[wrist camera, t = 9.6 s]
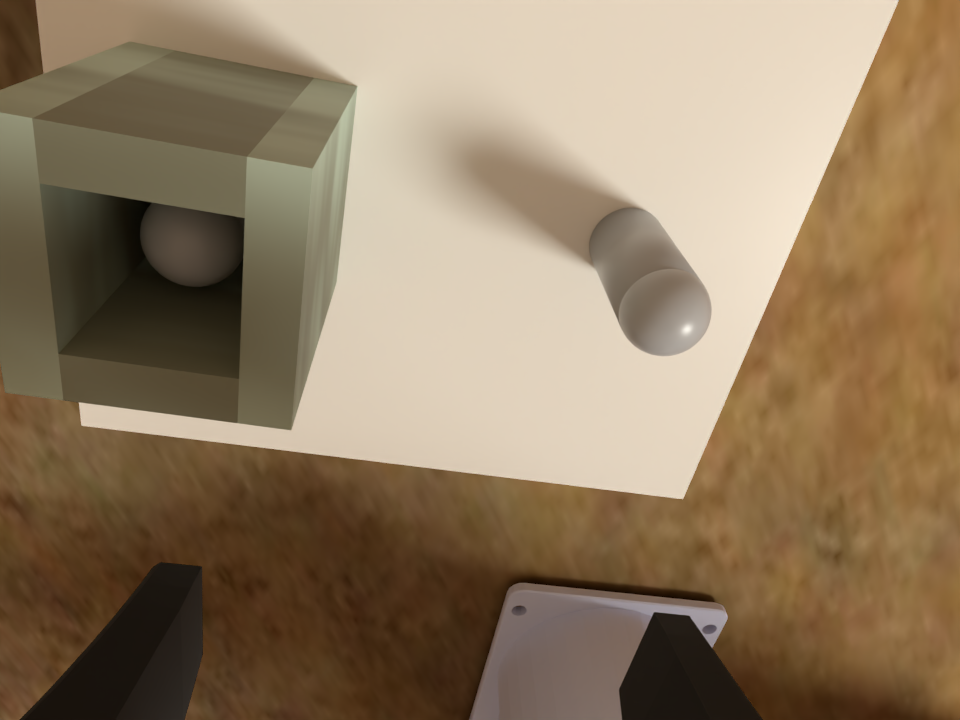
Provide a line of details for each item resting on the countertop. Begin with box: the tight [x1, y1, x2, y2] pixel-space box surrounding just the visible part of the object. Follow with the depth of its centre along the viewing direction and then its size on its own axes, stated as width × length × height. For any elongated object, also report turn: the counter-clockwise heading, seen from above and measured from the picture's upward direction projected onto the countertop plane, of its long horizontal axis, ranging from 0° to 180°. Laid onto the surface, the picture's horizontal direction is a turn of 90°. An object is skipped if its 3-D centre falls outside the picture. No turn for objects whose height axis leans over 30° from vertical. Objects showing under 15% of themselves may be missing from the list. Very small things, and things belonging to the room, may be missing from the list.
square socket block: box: [0, 41, 358, 430], centre depth 14 cm, size 5×5×6 cm
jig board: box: [36, 0, 899, 499], centre depth 16 cm, size 15×17×6 cm
